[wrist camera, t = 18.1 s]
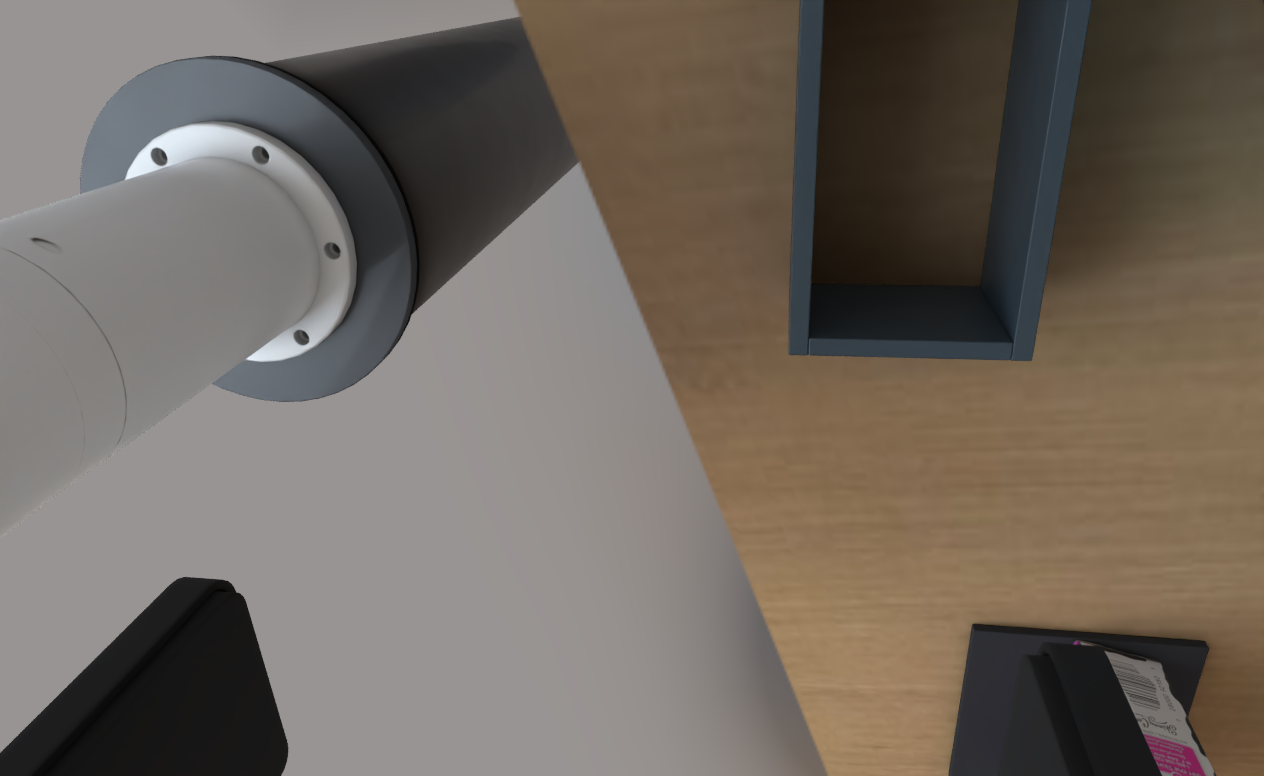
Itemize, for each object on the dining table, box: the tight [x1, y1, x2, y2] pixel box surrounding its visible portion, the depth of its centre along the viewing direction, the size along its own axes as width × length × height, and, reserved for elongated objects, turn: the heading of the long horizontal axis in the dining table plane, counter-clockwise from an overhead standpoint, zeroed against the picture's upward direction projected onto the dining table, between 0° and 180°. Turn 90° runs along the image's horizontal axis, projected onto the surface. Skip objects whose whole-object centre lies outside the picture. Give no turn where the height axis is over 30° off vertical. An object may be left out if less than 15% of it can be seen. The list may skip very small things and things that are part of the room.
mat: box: [949, 624, 1209, 776], centre depth 50 cm, size 12×12×1 cm
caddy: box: [788, 0, 1092, 361], centre depth 35 cm, size 10×16×7 cm, turn 3°
